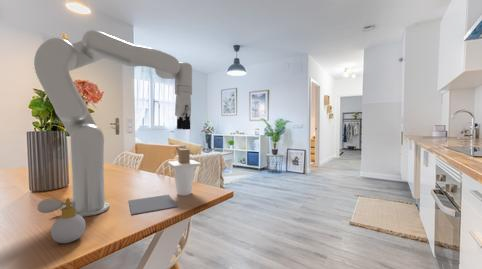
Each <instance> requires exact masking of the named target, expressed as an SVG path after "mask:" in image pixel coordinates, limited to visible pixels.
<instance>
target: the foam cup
mask: <svg viewBox="0 0 482 269" xmlns="http://www.w3.org/2000/svg"><path fill="white" fill-rule="evenodd" d="M195 170H196V167H186V168H176V169H174V168H173V173H174V181H175V186H176V193H177V195H179V196H189V195H191V194H192V191H193V185H194V184H193V182H194V176H195Z"/></svg>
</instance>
